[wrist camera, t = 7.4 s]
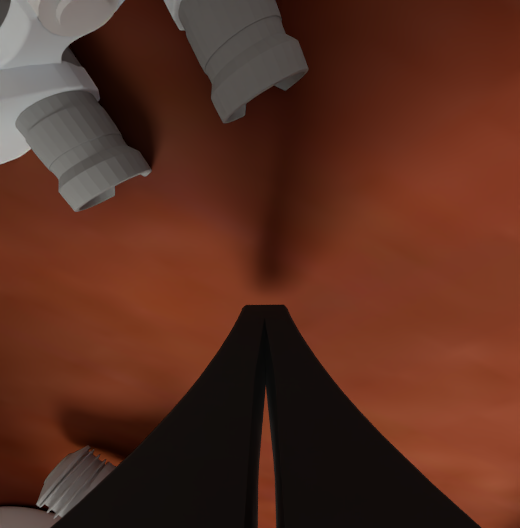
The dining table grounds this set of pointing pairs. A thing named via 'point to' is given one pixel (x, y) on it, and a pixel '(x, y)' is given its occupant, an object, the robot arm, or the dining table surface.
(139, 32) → the dining table surface
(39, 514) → the fruit juice
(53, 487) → the light bulb
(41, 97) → the binoculars
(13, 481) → the dining table surface
